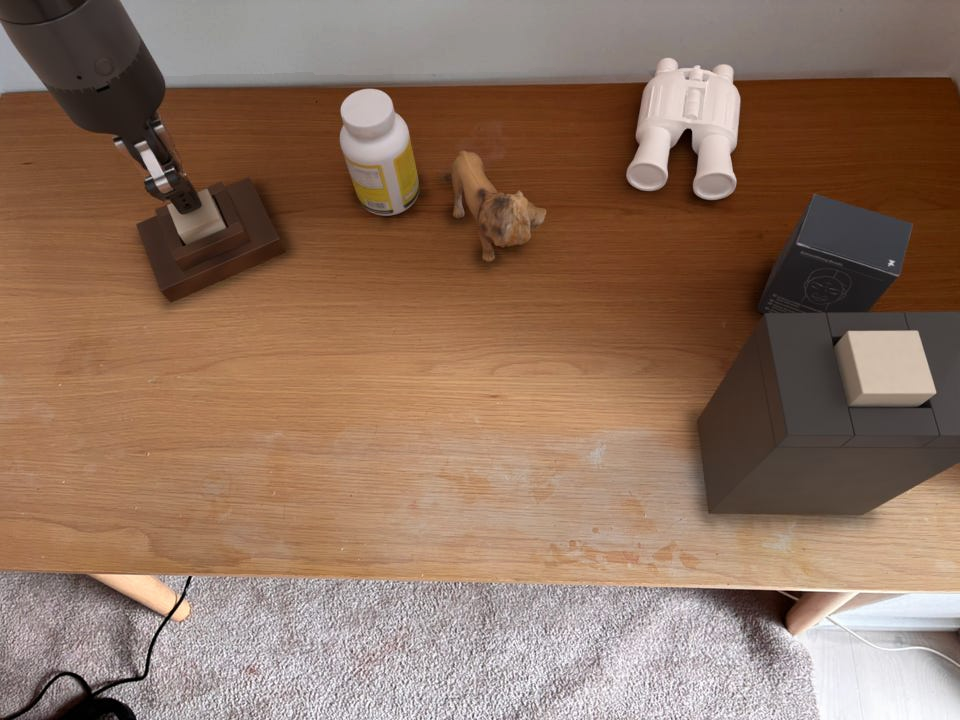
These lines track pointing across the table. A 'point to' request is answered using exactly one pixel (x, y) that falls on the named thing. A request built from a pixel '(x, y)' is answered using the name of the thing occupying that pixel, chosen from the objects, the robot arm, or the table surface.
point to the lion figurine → (491, 206)
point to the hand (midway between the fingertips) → (190, 206)
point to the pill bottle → (378, 153)
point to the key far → (198, 219)
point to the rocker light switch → (211, 242)
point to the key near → (883, 369)
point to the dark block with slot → (825, 420)
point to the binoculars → (688, 106)
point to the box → (836, 260)
